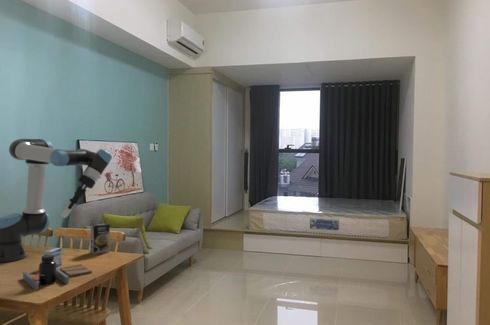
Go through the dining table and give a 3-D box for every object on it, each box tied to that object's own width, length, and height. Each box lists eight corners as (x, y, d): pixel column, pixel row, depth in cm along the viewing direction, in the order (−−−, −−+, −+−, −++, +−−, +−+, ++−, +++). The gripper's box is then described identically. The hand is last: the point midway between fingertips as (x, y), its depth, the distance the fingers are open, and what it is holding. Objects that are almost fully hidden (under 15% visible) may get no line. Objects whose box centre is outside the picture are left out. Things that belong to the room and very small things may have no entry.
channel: (23, 278, 179) (23, 272, 179) (54, 272, 188) (54, 266, 188) (35, 290, 164) (35, 283, 164) (68, 283, 173) (68, 276, 173)
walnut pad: (60, 270, 191) (60, 268, 191) (81, 266, 198) (81, 264, 198) (70, 277, 181) (70, 275, 181) (91, 272, 188) (91, 270, 188)
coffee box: (93, 254, 220) (93, 226, 219) (90, 252, 225) (90, 224, 224) (109, 252, 226) (109, 224, 225) (105, 249, 231) (105, 222, 230)
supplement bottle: (37, 286, 169) (37, 258, 169) (40, 280, 176) (40, 254, 176) (54, 284, 171) (54, 257, 171) (57, 279, 178) (57, 253, 177)
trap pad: (29, 278, 179) (29, 277, 179) (50, 273, 186) (50, 273, 186) (32, 281, 175) (32, 280, 175) (54, 277, 181) (54, 276, 181)
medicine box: (51, 269, 192) (51, 252, 192) (43, 268, 193) (43, 251, 193) (62, 264, 200) (61, 248, 200) (54, 264, 201) (54, 247, 201)
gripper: (99, 178, 182) (73, 218, 173) (93, 185, 203) (69, 221, 195) (84, 169, 179) (57, 210, 171) (79, 178, 201) (55, 214, 193)
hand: (63, 216), depth 183 cm, fingers open, 13 cm apart
